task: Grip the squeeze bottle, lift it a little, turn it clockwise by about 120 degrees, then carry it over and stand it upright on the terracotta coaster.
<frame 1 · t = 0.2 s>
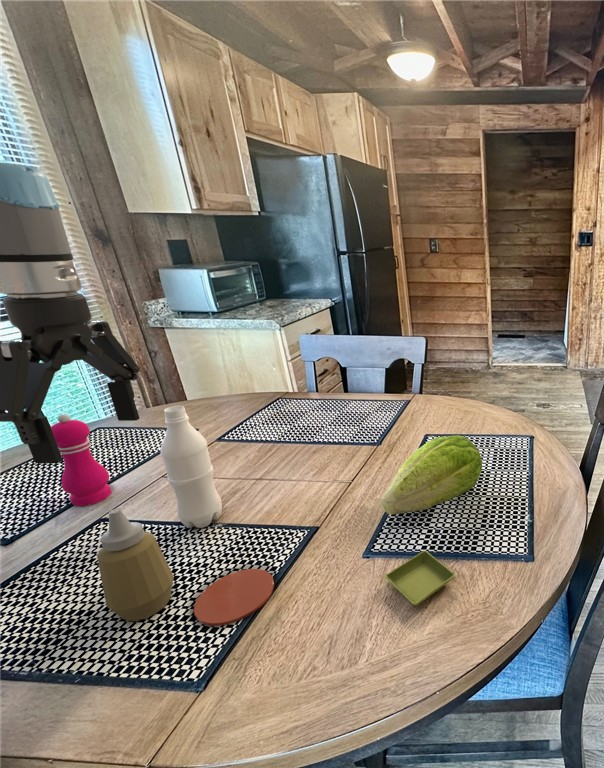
hand: (93, 438, 62), 27 cm above the table, tool pointing down, fingers open, 13 cm apart
green square tray: (420, 585, 72), on the table
coaster: (236, 596, 68), on the table
squeeze bottle: (147, 607, 66), on the table
water bottle: (203, 521, 85), on the table
lettuce: (432, 500, 95), on the table
pepper mill: (92, 498, 91), on the table
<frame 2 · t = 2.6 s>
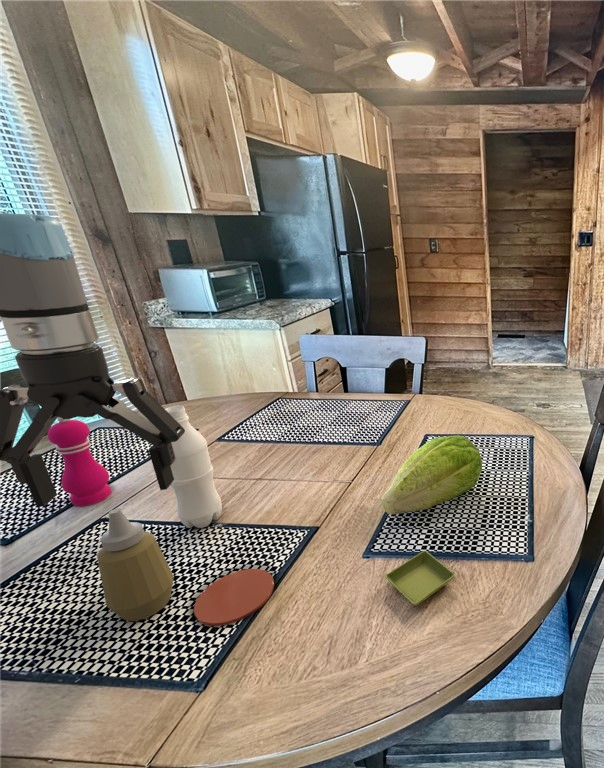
hand: (109, 492, 59), 21 cm above the table, tool pointing down, fingers open, 13 cm apart
nothing on the table moved.
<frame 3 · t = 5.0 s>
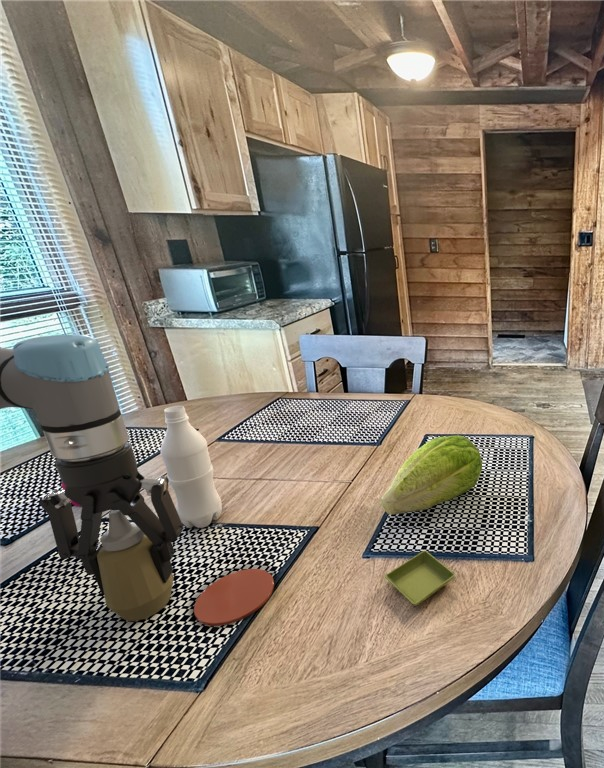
hand: (138, 581, 64), 5 cm above the table, tool pointing down, fingers closed on squeeze bottle, 6 cm apart
squeeze bottle: (147, 607, 66), on the table, touching gripper
everything else where it was.
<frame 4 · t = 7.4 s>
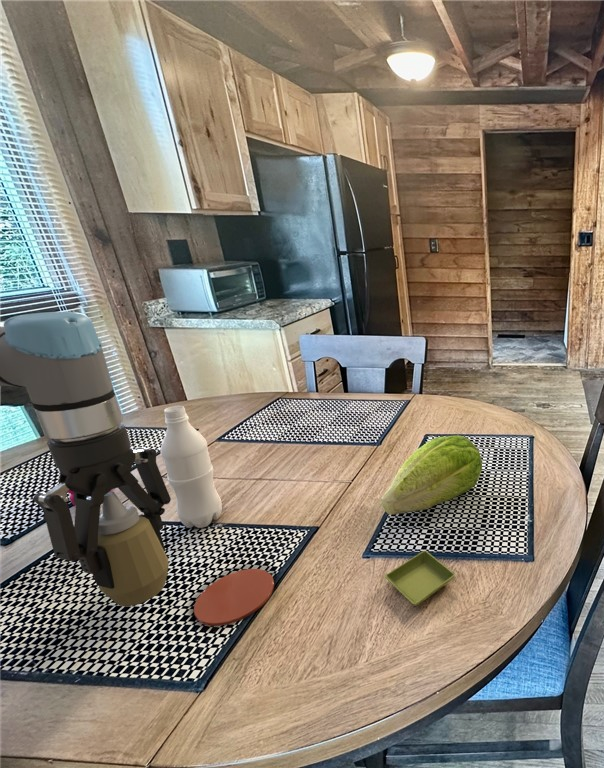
hand: (133, 566, 63), 8 cm above the table, tool pointing down, fingers closed on squeeze bottle, 6 cm apart
squeeze bottle: (142, 593, 65), point 3 cm above the table, touching gripper
everything else where it was.
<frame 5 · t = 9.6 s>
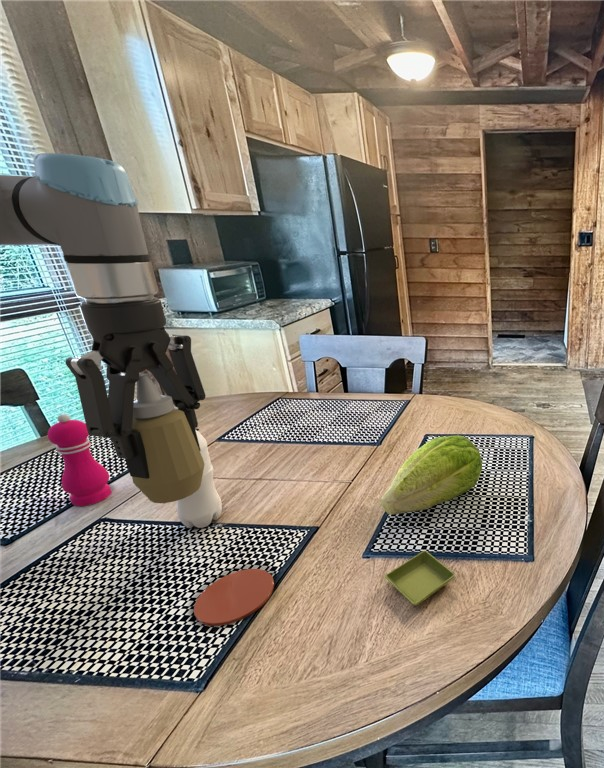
hand: (167, 462, 59), 25 cm above the table, tool pointing down, fingers closed on squeeze bottle, 6 cm apart
squeeze bottle: (176, 493, 60), point 20 cm above the table, touching gripper
everything else where it was.
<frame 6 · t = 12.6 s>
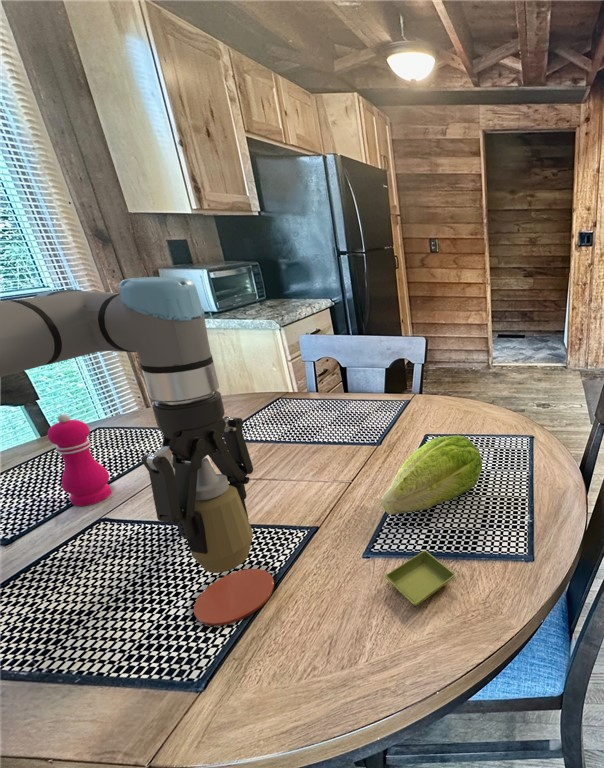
hand: (221, 534, 64), 12 cm above the table, tool pointing down, fingers closed on squeeze bottle, 6 cm apart
squeeze bottle: (227, 561, 66), point 7 cm above the table, touching gripper
everything else where it was.
when the fingers open (6 cm above the table, at t = 14.6 s): squeeze bottle stays where it is, resting on coaster.
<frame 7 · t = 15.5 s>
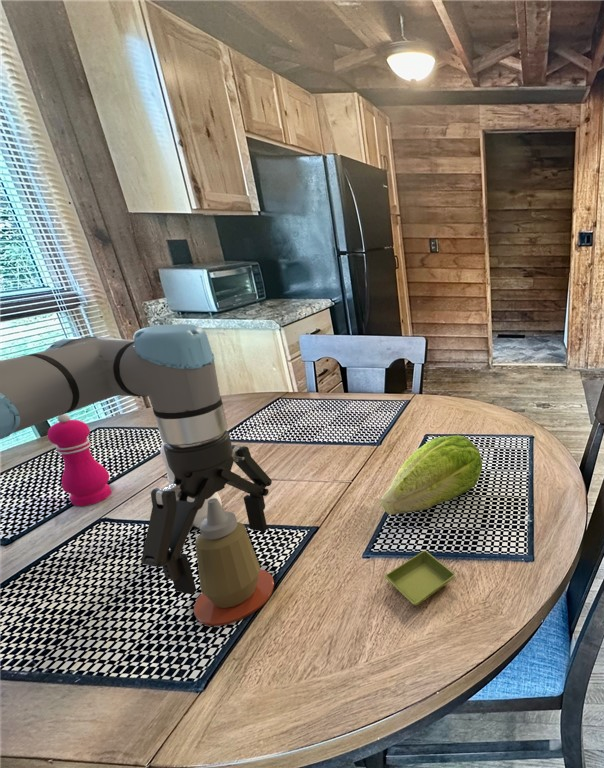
hand: (226, 557, 65), 8 cm above the table, tool pointing down, fingers open, 13 cm apart
squeeze bottle: (235, 594, 68), resting on coaster
everything else where it was.
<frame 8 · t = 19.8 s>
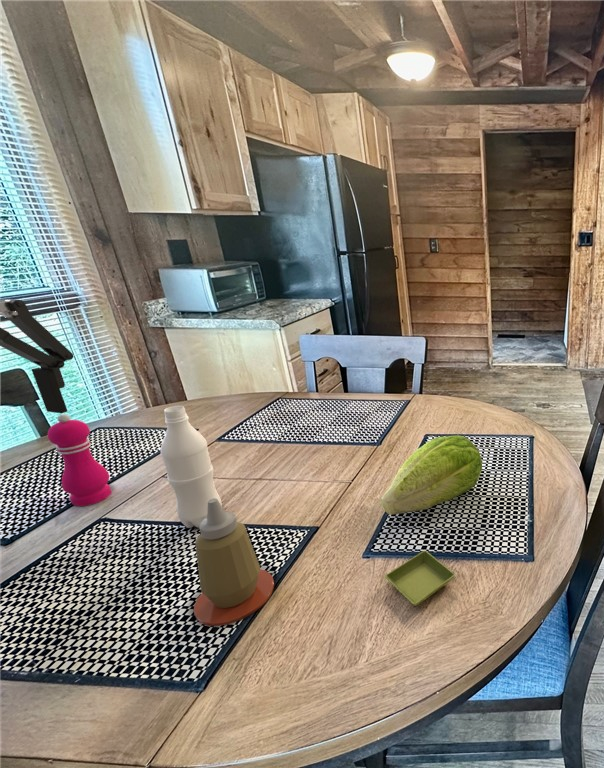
nothing on the table moved.
at the end: squeeze bottle 0.0 cm off-centre on the coaster, point 0.4 cm above the coaster's base; squeeze bottle tilted 0°; the gripper is holding nothing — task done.
